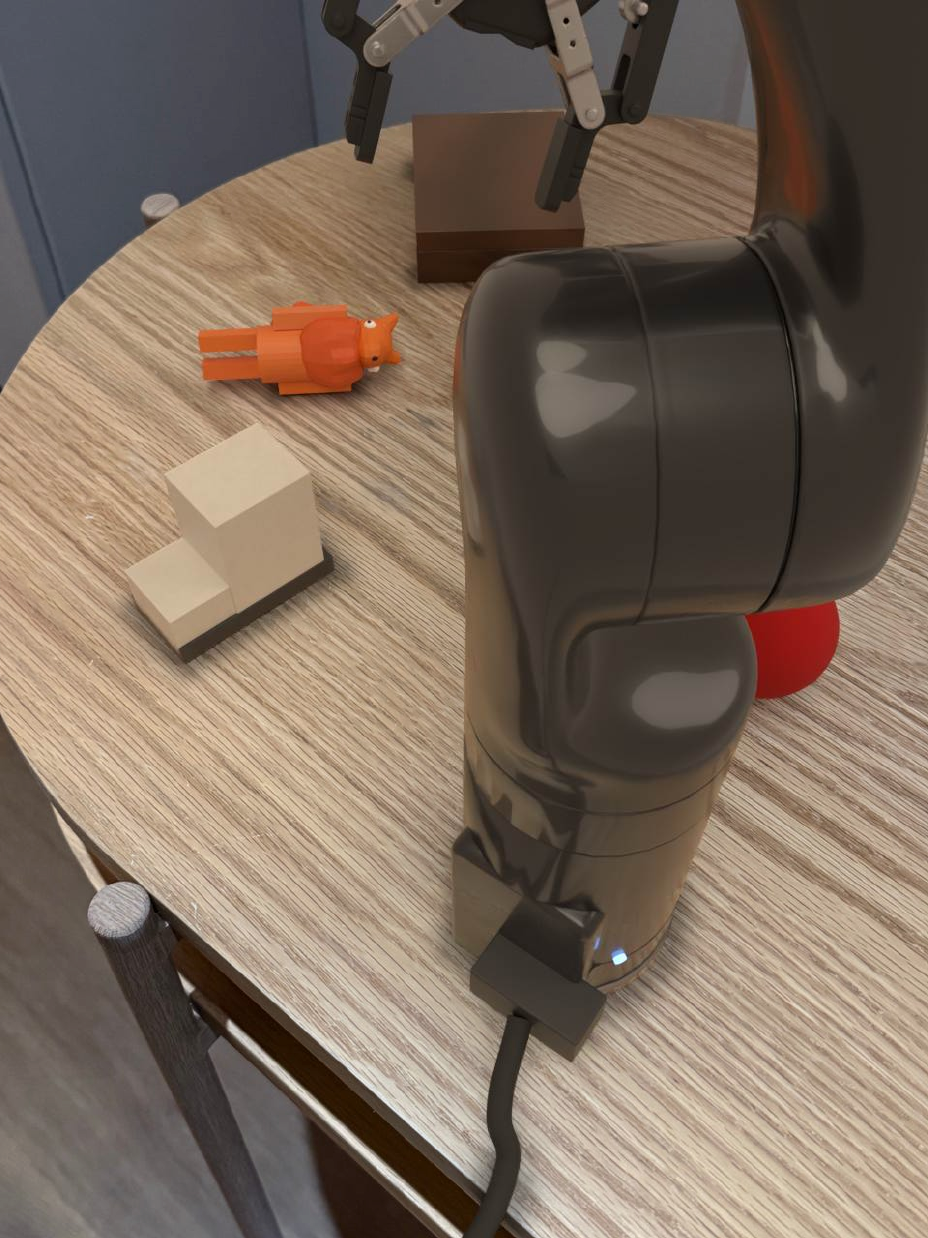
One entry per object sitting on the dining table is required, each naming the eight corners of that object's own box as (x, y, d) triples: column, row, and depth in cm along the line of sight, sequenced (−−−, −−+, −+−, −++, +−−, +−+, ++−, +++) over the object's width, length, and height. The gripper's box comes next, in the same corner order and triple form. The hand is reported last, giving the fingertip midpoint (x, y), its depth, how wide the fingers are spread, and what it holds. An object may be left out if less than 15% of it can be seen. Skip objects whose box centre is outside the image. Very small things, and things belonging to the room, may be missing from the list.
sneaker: (284, 519, 65) (264, 415, 58) (334, 570, 63) (320, 467, 56) (136, 607, 61) (97, 507, 55) (184, 664, 59) (151, 566, 52)
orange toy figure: (189, 330, 66) (399, 321, 66) (204, 287, 72) (396, 278, 72) (202, 412, 68) (403, 402, 69) (216, 363, 75) (400, 355, 75)
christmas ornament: (723, 590, 62) (762, 460, 54) (843, 656, 59) (903, 530, 51) (653, 677, 58) (684, 552, 50) (777, 751, 56) (830, 632, 48)
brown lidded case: (560, 161, 86) (564, 110, 83) (580, 278, 78) (585, 227, 74) (413, 164, 86) (411, 114, 82) (417, 283, 77) (415, 232, 74)
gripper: (707, -184, 48) (582, 204, 56) (379, -310, 44) (295, 125, 52) (773, -192, 42) (622, 245, 50) (398, -340, 38) (299, 159, 46)
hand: (455, 183), depth 51 cm, fingers open, 8 cm apart
